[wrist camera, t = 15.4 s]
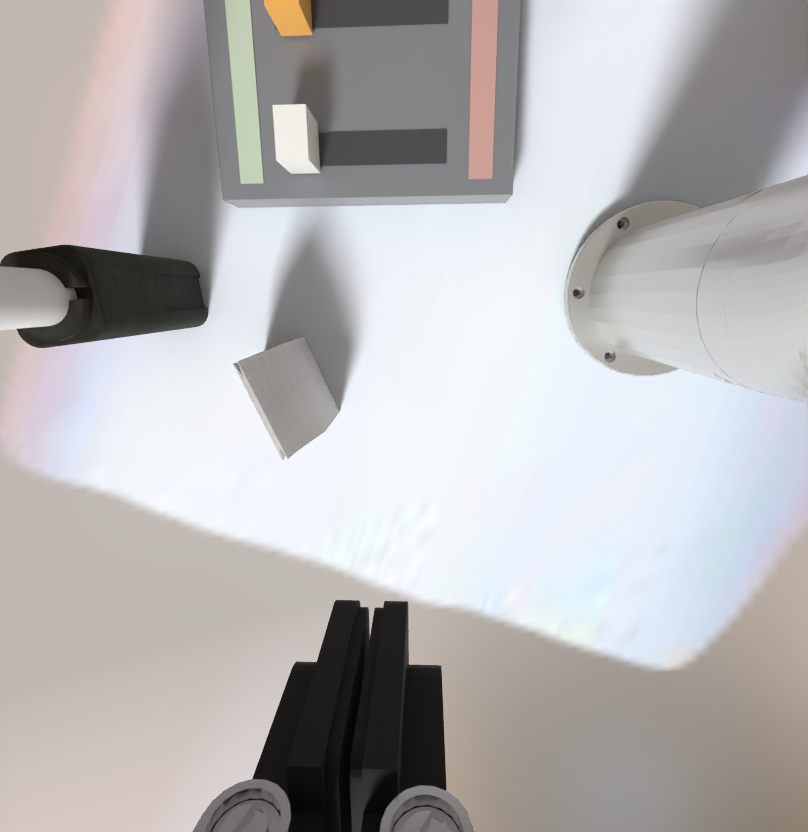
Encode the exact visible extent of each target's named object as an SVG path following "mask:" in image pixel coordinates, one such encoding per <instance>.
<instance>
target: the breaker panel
mask: <svg viewBox="0 0 808 832" xmlns="http://www.w3.org/2000/svg"><path fill="white" fill-rule="evenodd" d="M204 9H205V19H206V29H207V40H208V50H209V61H210V71H211V82H212V92H213V102H214V113H215V123H216V134H217V144H218V155H219V165H220V175H221V186H222V196H223V200H224V201H226V202H228V203H230V204H233V205H235V206H237V207H239V208H243V207H298V206H352V205H407V204H462V203H506V201H507V200H508V199H509V198H510V197H511V196H512V194H513V171H514V149H515V126H516V103H517V80H518V57H519V34H520V11H521V0H311V14H312V35H302V36H281V35H280V33H279V31H278V29H277V27H276V26H275V24H274V22H273V20H272V19H271V17H270V15H269V13H268V11H267V10H266V8H265V6H264V0H204Z"/></svg>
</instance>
